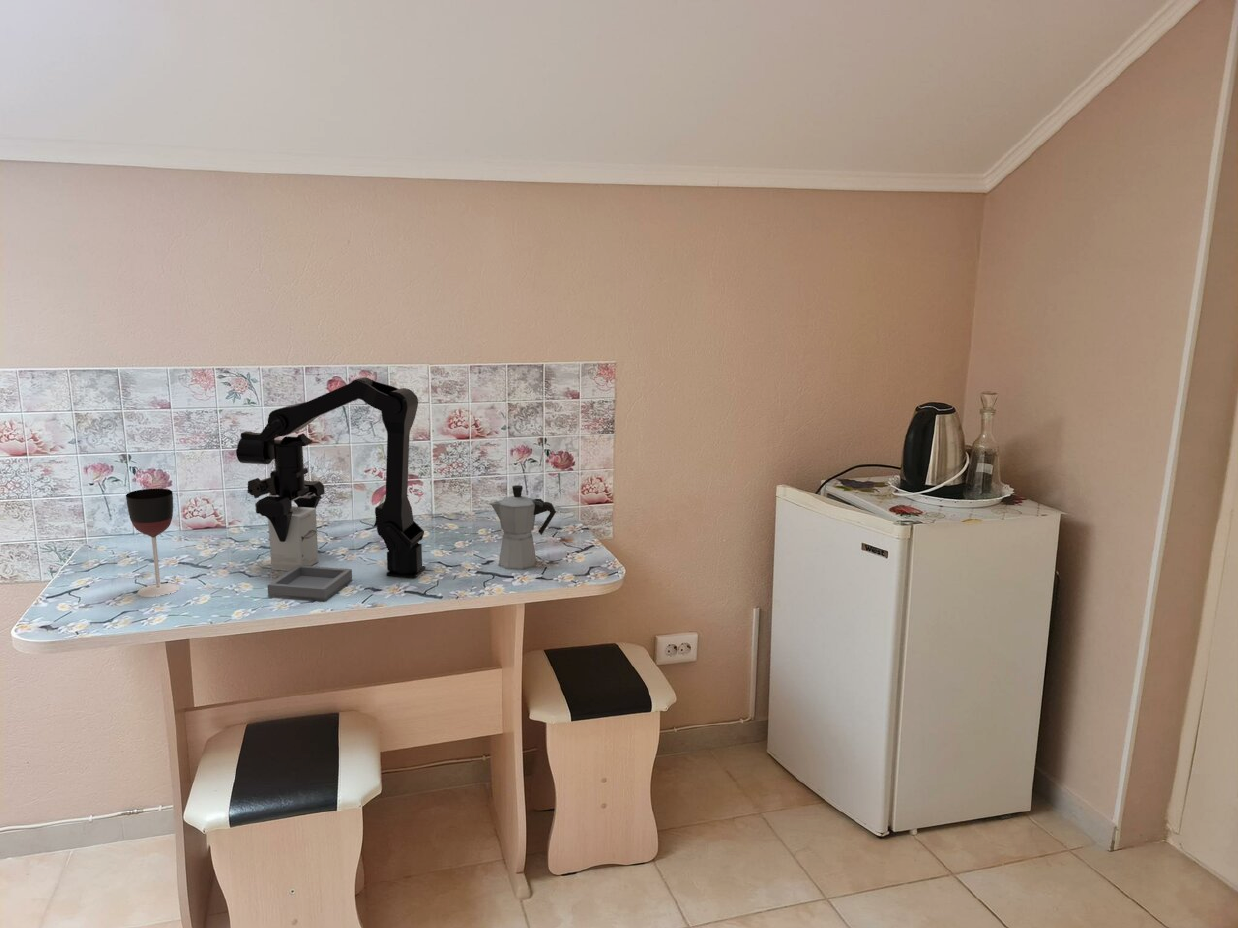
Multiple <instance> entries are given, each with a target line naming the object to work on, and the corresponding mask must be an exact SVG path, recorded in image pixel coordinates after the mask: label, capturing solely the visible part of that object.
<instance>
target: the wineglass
mask: <svg viewBox="0 0 1238 928" xmlns="http://www.w3.org/2000/svg"><path fill="white" fill-rule="evenodd" d="M125 499H126V506H127V512H128V515H129V519H130V522H131V525H133V527H134V528H135V529H136V531H137V532H139V533H141V534H144V535H145V536H146V535H147V536H148V537H151V545H152V555H153V556H152V557H153V566H154V575H155V577H154V578H155V584H151V585H148V586H145V587H143V588H140V589H139V590H138V591H137V595H138V596H140V597H144V598H156V597H157V598H158V597H161V596H160V595H164V594H168V595H171V594H173V593H175V592H178V591H179V590H180V589H181V588H180V585H178V584H175V583H170V582H169V583H161V576H160V566H159V555H158V546H157V545H158V543H157V536H159V535H160V534H162V533H164V532H165V531H167V529H168V528H169V527H170V526H171V523H172V521H173V515H174V495H173V491H172V490H171V489H168V488H144V489H143V488H142V489H137V490H133V491H130V492H128V493H126V494H125ZM177 590H178V591H177ZM170 593H171V594H170ZM155 596H156V597H155ZM164 596H165V595H164Z"/></svg>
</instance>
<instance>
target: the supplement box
mask: <svg viewBox="0 0 1238 928" xmlns="http://www.w3.org/2000/svg"><path fill="white" fill-rule="evenodd" d="M290 511H291V512H292V517H291V521H290V525H289V530H288V534H287V538H286V541H285V542H280V540H279V538H278V536H277V534H276V531H275V529H274V527H273V525H272V523H271V521H270V520H269V519H268V518H267V520H268V535H269V547H270V550H269V551H270V565H271V566H270V568H271V570H273V571H281V572H282V571H283V572H288V571H290V570H291V569H293V568H295V567H296V566H298V565H301V566H313V565H315V564H317V563H318V562H319V548H318V547H319V546H318V544H319V543H318V526H317V525H318V524H317V523H318V522H317V507H316V508H308V507H298V506H293V505H292V508H291V510H290Z"/></svg>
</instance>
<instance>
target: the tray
mask: <svg viewBox="0 0 1238 928" xmlns="http://www.w3.org/2000/svg"><path fill="white" fill-rule="evenodd" d="M351 582H353V570H352V569H351V568H339V567H328V566H327V567H325V566H313V565H312V566H301V565H298V566H296V567H295V568H293V569H291V570H290V571H286V572H285V573H284V574H282V575H281V576H279V577H277V578H276V579H274V580H272V581H271V582H270V583H268V584H267V597H268V598H279V599H293V600H303V601H304V600H305V601H318V602H327V601H328V600H329V599H330V598H331V597H333V596H334V595H335V594H337V593H338V592H339V591H340V590H342V589H343V588H345V587H346V586H347V585H349V584H350V583H351Z"/></svg>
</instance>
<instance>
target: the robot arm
mask: <svg viewBox="0 0 1238 928" xmlns="http://www.w3.org/2000/svg"><path fill="white" fill-rule="evenodd" d="M357 400H361V401H363V403H366V404H367V405H369V406H370V407H371V408H374V409H375V410H378V411H380V413H381V418H382V422H383V425H384V428H385V431H386V434H387V435H386V436H387V437H386V438H387V439H386V441H387V442H386V471H385V499H384V501H383V502H382V503H380V504H379V505H377V506H376V507H375V508H374V515H375V522H374V524H373V527H376V532H377V534H378V536H380V538H381V539H382V540H383V542H384V544H385V547H386V550H387V552H386V567H387V568H386V569H387V572H386V576H388V577H400V578H413V579H414V578H417V577H418V576H419V575H420V573H422V572H423V571H424V570H425V569H426V566H425V565H423V549H422V544H423V543H419V542H420V541H422V540H423V537H424V535H425V530H424V529H423V528H421V526H420V525H419V524H418V523H417V522H416V521H415V520H414V514H413V509H412V505H411V503H410V500H409V497H408V485H409V483H408V482H409V460H410V459H409V457H410V436H411V430H412V427H413V425H414V422H415V419H416V415H417V410H418V406H419V398H418V396H417V395H416V394H415V393H414V390H413V391H412V390H411V389H410V388H406V387H400V388H397V387H396V386H393V385H389V384H385V383H382V382H379V381H376V380H374V379H371V378H369V377H365V376H364V377H359V378H356V379H353V380H351V382H349V383H347V384H345V385H343V386H340V387H338V388H336V389H334V390H331V391H329V392H327V393H324V394H322V395H320V396H318V397H317V396H316V397H315V398H313V399H311V400H309V401H308V400H307V401H303V402H300V403H299V402H298V403H296V404H291V405H287V406H283V407H280V408H276V409H274V410H272V411H271V412H269V414H268V417H267V424H266V425H265V427H264V428H263V430H262V431H261V432H253V431H247V430H246V431H243V432H241V433H240V439H239V440H238V444H237V447H236V449H235V454H236V458H237V460H238V462H239V463H240V464H250V465H251V464H253V465H270V464H271V463H272V461H273V460H274V468H275V469H274V470H272V471H271V472H270V474H269V477H267V478H266V477H265V478H264V479H260V478H259V477H256V478H253V479H250V480H248V481H247V493H248V494H249V495H251V496H253V497H254V499H257V498H260V497H261V496H264V495H267V494H269V495H267V496H265V497H263V498H260V499H258V501H257V502H256V503H255V504H254V505H255V513H256V514H258V515H260V516H261V517H265V518H267V520H268V519H269V520H270V521H271V523H272V525H273V527H274V529H275V531H276V534H277V536H278V538H279V540H280V542H285V541H286V538H287V534H288V530H289V525H290V521H291V517H292V512H291V511H290V510H291V508H292V506H293V502H294V504H295V505H296V507H308V508H316V509H317V507H318V504H319V503H320V500H321V499H322V498H323V497H322V495H325V493H326V492H325V485H324V484H323V483H322V482H321V481H319V480H316V481H315V480H305V475H306V474H308V473H309V469H308V468H309V467H304V449H303V448H304V447H306V446H310V445H312V444H313V440H312V439H311V438H309V437H308V436H307V435H306V434H305V433H304V432H302V433H300V434H298V435H297V436H288V435H291V434H293V433H297V432H299V431H300V430H302V429H304V428H306V427H307V426H309V425H310V424H311V423H312V422H314V421H315V420H316V419H317V418H319V417H320V416H322V415H325V414H327V413H329V412H331V411H334V410H336V409H340V408H341V407H343V406H345V405H348V404H350V403H352V402H356V401H357ZM279 437H282V439H277V438H279ZM269 520H268V521H269Z"/></svg>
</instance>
